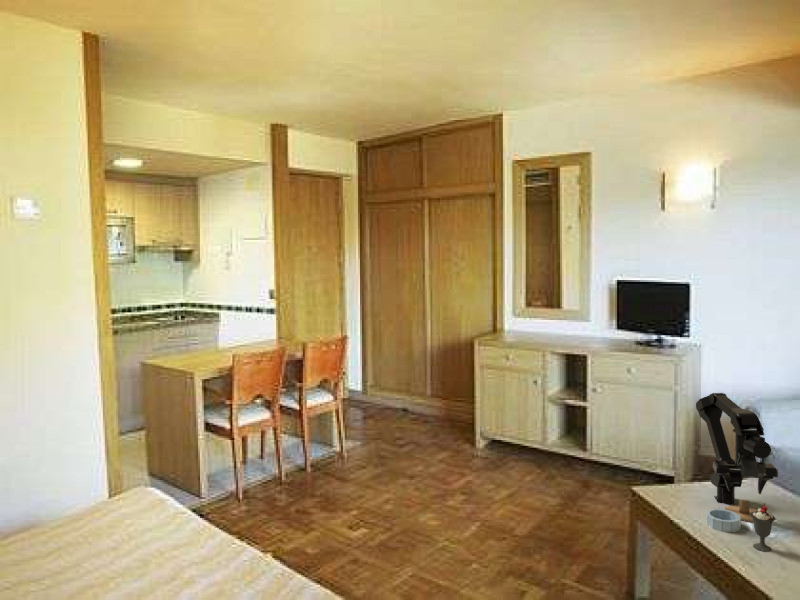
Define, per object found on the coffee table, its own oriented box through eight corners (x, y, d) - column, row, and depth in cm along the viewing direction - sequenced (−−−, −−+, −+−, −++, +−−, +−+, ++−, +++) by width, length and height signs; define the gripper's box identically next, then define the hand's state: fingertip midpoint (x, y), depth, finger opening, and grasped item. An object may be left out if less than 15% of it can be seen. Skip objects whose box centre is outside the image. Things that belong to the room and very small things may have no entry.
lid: (721, 506, 208) (721, 493, 208) (758, 509, 205) (758, 496, 205) (730, 520, 197) (730, 506, 197) (768, 523, 194) (769, 509, 193)
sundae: (763, 554, 175) (763, 506, 174) (744, 544, 182) (745, 497, 181) (780, 551, 177) (781, 503, 176) (761, 541, 183) (762, 495, 182)
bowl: (702, 518, 200) (703, 507, 200) (735, 521, 197) (735, 510, 197) (709, 531, 190) (709, 520, 190) (744, 535, 188) (744, 523, 187)
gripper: (720, 454, 194) (720, 499, 195) (784, 458, 189) (783, 504, 190) (712, 444, 205) (712, 487, 206) (772, 447, 200) (772, 491, 201)
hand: (744, 492), depth 201 cm, fingers open, 9 cm apart
